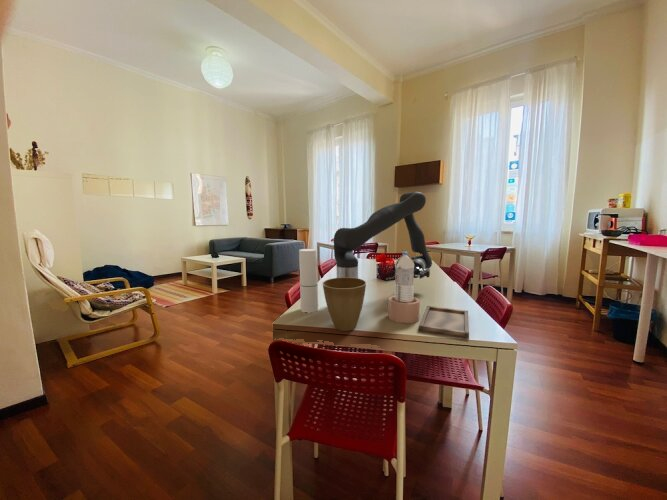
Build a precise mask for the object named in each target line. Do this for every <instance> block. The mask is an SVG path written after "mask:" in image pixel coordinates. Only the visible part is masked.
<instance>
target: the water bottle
mask: <svg viewBox="0 0 667 500" xmlns="http://www.w3.org/2000/svg"><path fill="white" fill-rule="evenodd" d="M401 253H402V256H400V257H398V258H397V260H396V262H395V263H394V266H395V269H396V271H395V270H394V276H395V279H394V281H395V282H394V296H395V302H398V303H413V297H415V296H414V292H415V290H414V285H415V284H414V281H415V280H414V279H415V278H414V262H413V261H412V259H411V258H412V257H410V256H408V251H402V252H401Z"/></svg>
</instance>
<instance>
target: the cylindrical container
mask: <svg viewBox="0 0 667 500" xmlns="http://www.w3.org/2000/svg"><path fill="white" fill-rule="evenodd" d="M298 257H299V258H298V260H299V261H298V263H299V287H300V289H299V290H300V292H299V294H300V312H302V313H304V312H307V313H306V314H312V313H311V312H313V313H316V312H318V311H319V287H318V285H319V284H318V283H319V282H318V281H319V280H318V249H317V248H302V249H298ZM317 310H318V311H317Z"/></svg>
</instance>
